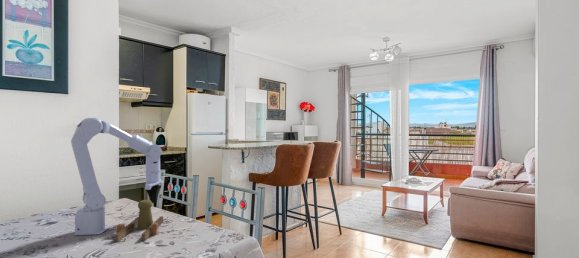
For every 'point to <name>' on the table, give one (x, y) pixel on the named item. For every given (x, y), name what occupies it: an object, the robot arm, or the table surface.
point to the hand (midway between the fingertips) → (153, 202)
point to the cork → (144, 215)
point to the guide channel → (124, 231)
